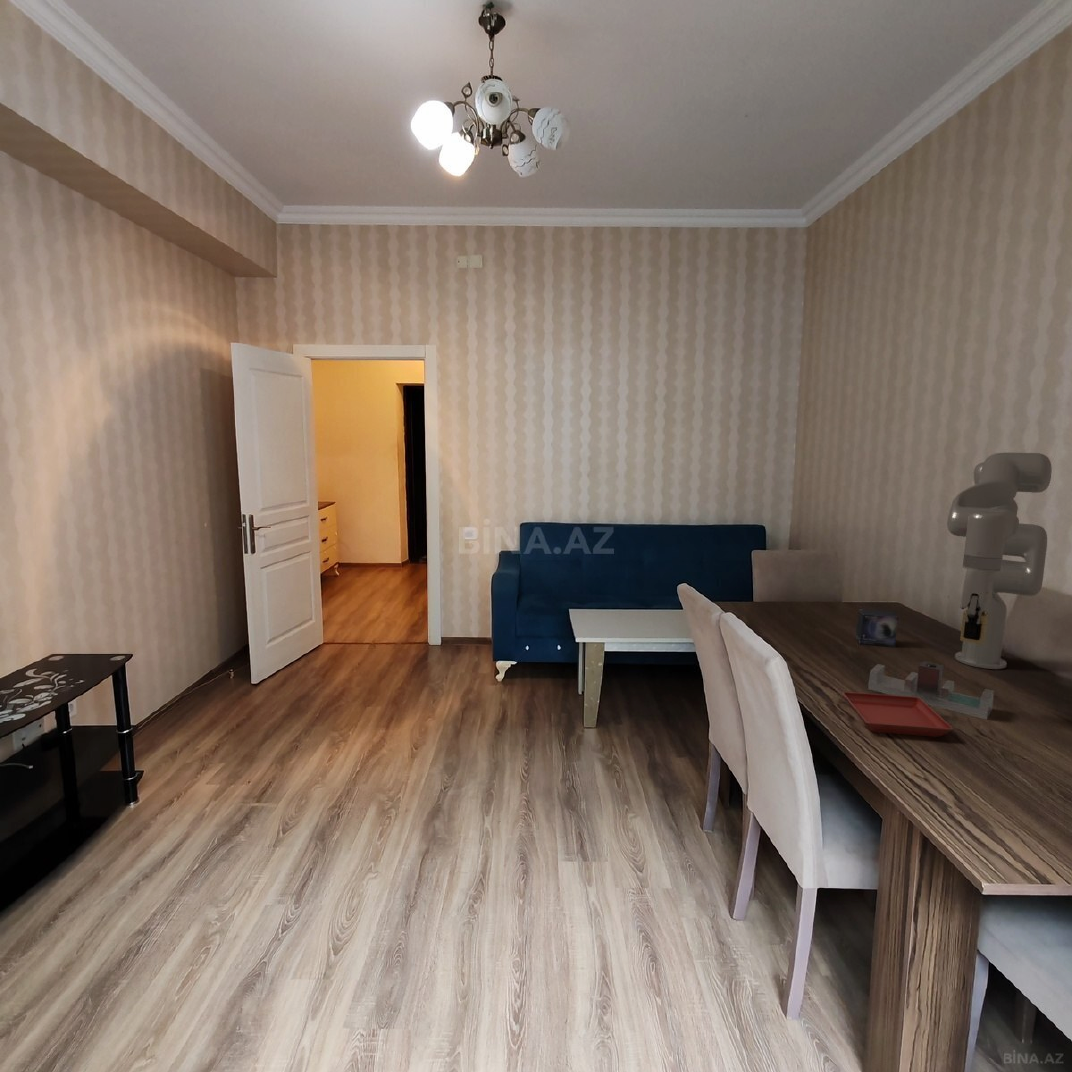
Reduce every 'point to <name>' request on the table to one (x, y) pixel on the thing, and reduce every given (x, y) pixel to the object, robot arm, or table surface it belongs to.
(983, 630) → the yellow tall block
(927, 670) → the dark knobbed cube
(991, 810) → the table surface
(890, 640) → the small box
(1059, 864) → the table surface
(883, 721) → the plant saucer
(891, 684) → the rail
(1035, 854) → the table surface
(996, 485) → the robot arm
